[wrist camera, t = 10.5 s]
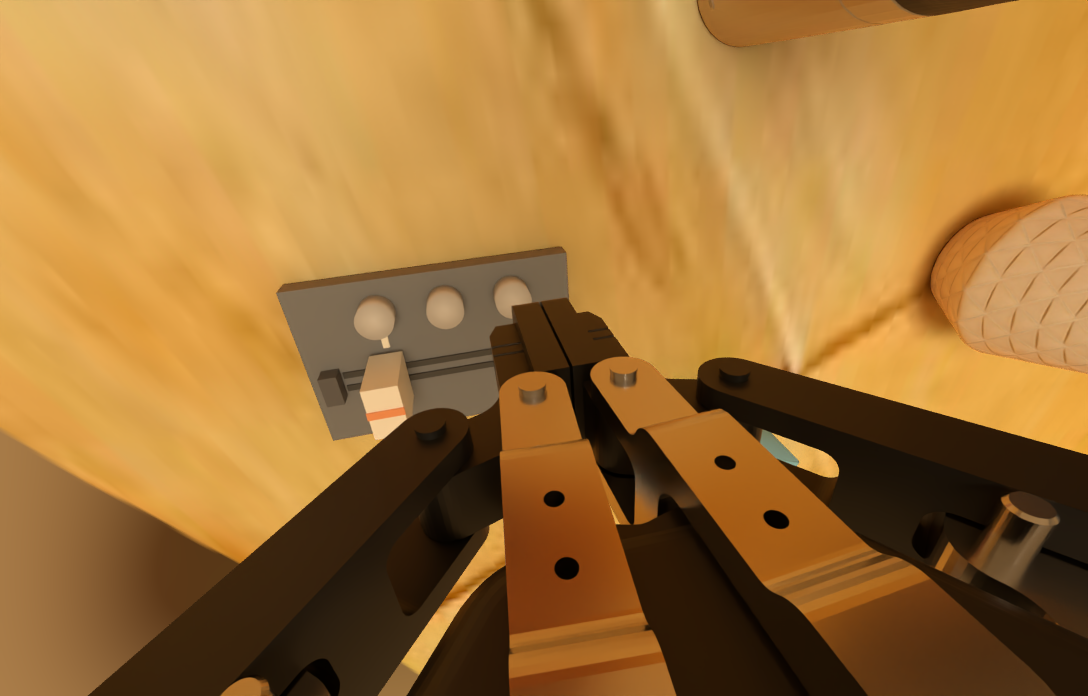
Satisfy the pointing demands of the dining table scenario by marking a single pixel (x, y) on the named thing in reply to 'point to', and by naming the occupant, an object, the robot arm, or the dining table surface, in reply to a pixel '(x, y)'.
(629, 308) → the dining table surface
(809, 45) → the dining table surface
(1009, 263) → the vase
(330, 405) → the console
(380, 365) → the block
